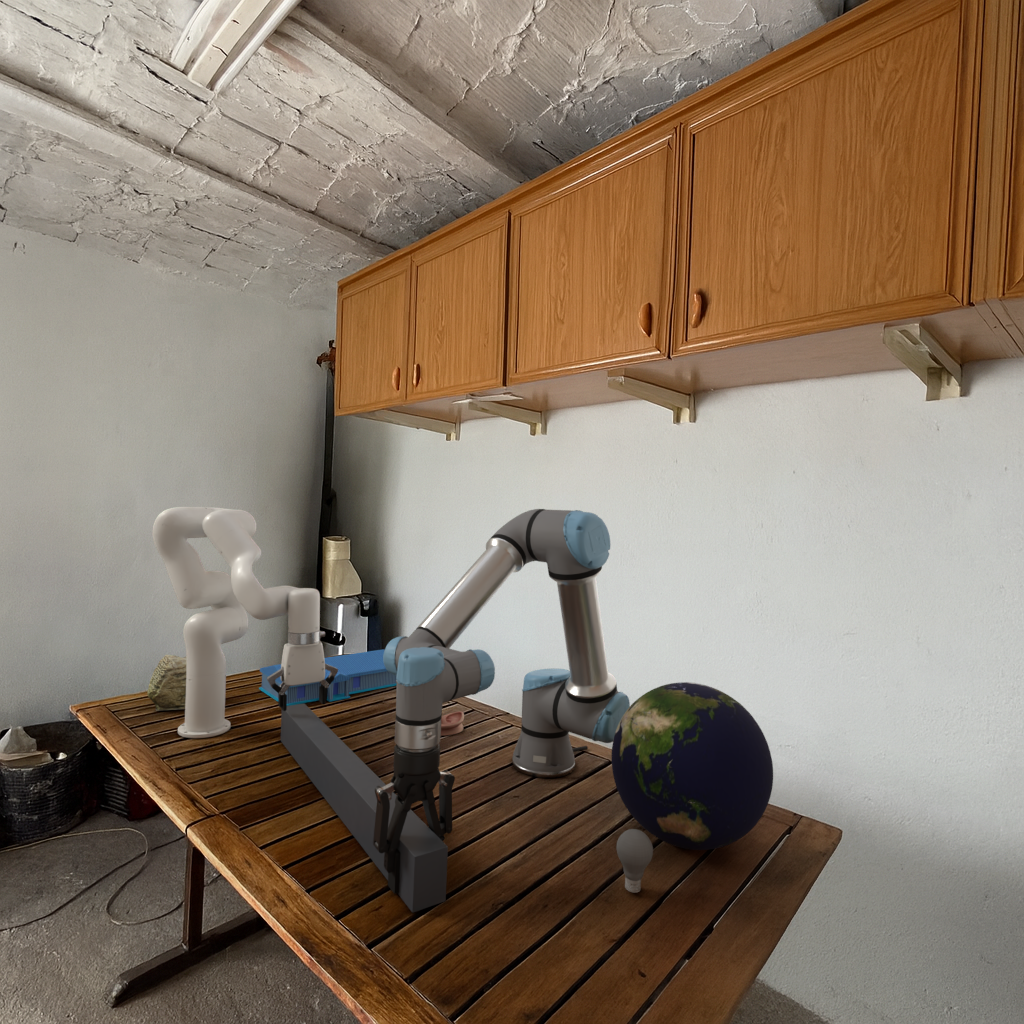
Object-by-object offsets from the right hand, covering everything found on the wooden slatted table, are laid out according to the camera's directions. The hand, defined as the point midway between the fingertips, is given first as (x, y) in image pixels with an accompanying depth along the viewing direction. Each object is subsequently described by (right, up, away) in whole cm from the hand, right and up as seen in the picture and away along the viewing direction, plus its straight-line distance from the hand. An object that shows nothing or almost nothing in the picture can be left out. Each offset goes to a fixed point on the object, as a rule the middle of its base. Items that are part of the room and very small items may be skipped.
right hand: (411, 882), depth 105 cm
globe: (+50, -2, +18) cm, 53 cm away
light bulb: (+37, -2, +1) cm, 37 cm away
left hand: (-36, +13, +54) cm, 66 cm away
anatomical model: (-4, +1, +71) cm, 71 cm away
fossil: (-79, +5, +80) cm, 113 cm away
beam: (-18, +1, +27) cm, 33 cm away
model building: (-42, +3, +103) cm, 112 cm away
